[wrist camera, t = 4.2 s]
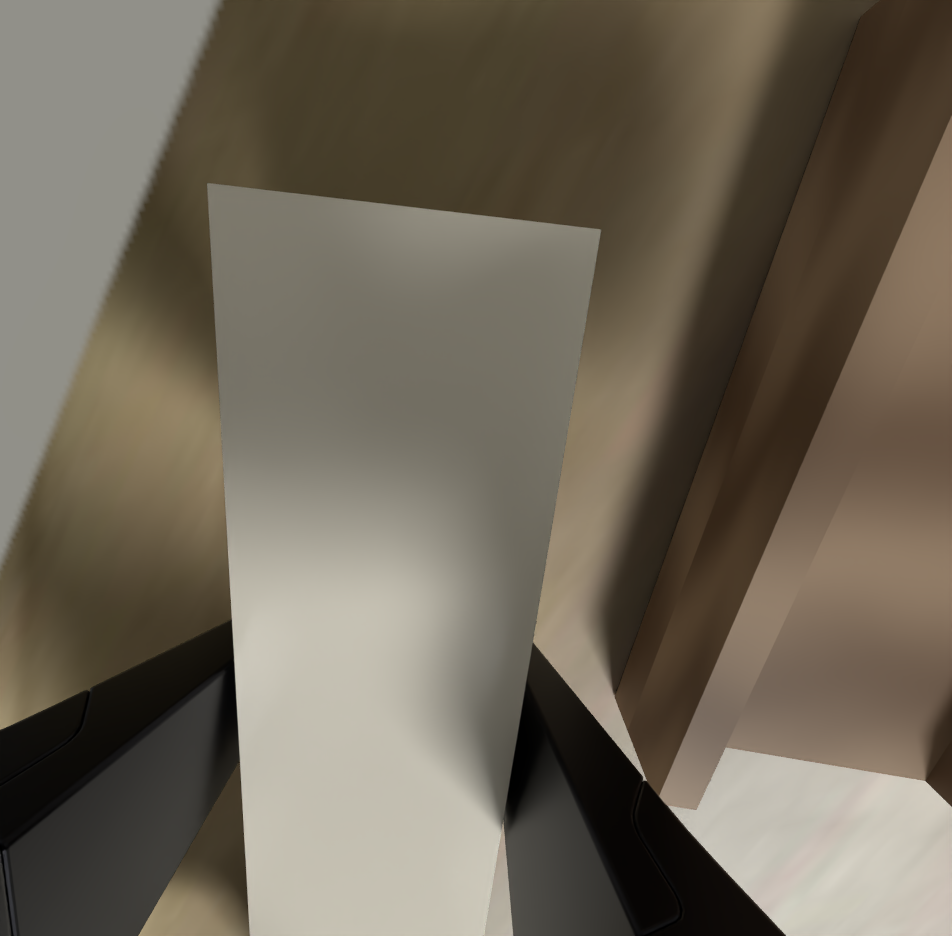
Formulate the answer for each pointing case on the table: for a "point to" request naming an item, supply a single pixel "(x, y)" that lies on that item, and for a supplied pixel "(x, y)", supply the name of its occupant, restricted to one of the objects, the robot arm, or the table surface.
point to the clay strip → (385, 539)
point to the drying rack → (827, 464)
